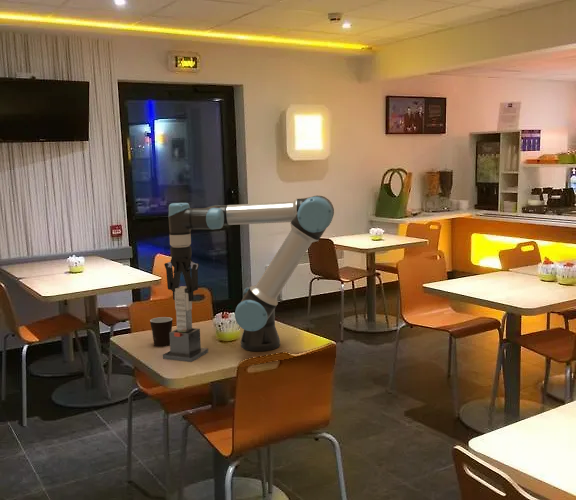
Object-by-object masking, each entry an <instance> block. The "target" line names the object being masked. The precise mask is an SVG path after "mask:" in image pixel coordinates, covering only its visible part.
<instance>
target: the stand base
mask: <svg viewBox="0 0 576 500" xmlns="http://www.w3.org/2000/svg"><path fill="white" fill-rule="evenodd" d="M169 334H170V345H169V347H170V349H169V351H168V352H165V353H163V354H162V359H163V360H171V361H172V360H173V361H180V362H188V363H192V362H195V361H196V360H198V359H199V358H202V357H203V356H204V355H205V356H206V355H207V354H208V353H209V348H205V347H201V329H200V328H195V327H192V331H191V332H189V333H179V332H177V328H176V329H174V330H172V332H169Z"/></svg>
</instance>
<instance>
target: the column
mask: <svg viewBox="0 0 576 500" xmlns="http://www.w3.org/2000/svg"><path fill="white" fill-rule="evenodd" d="M186 293H187V287H186V285H185V286H184V285H183V286H182V285H181V286H180V285H179V287H177V288H175V298H176V310H175V316H176V329H177V332H179V333H189V332H191V331H192V328H193V316H192V313H193V312H192V309H191V310H188V311H187V310H186Z"/></svg>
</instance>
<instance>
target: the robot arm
mask: <svg viewBox="0 0 576 500" xmlns="http://www.w3.org/2000/svg"><path fill="white" fill-rule="evenodd" d="M334 214H335V209H334V206H333V204H332V202H331V200H330V199H329V198H327V197H325V196H322V195H313V196H309V197H303V198H296V199H295V200H294V201H283V202H264V203H263V202H262V203H242V204H223V205H222V204H221V205H219V204H214V205H211V206H209V207H208V206H207V207H203V208H201V207H200V208H198V207H197V208H192V207H190V203H188V202H172V203H170V204H169V205H168V227H169V228H168V229H169V245H170V248H169V249H170V261H169V262H168V261H167V262H165V263H164V264H163V265H164V268H165V271H166V282H167V283H166V284H167V285H166V286H167V289H168V290H170V291H172V299H173V301H174V309H175V311H176V298H175V288H177V287H180V280H181V279H180V278H181V273H182V275H183V277H184V282H185V286H186V287H187V293H186V310H187V311H188V310H191V311H192V310H193V301H194V292H195V291H197V290H198V289H199V267H200V263H195V262H193V259H192V255H193V254H192V246H191V244H192V237H191V234H192V232H191V231H192V230H213V231H214V230H220V229H222V228H223V227H224V226H233V225H235V226H236V225H253V224H255V225H258V224H259V225H260V224H261V225H262V224H276V223H277V224H278V223H279V224H282V223H285V224H286V223H290V227H291V229H290V231H289V233H288V234H287V236H286V238H285V239H284V241H283V243H282V244H281V245H280V247H279V249H277V252H276V253H275V255H274V257H273V258H272V260H271V261H270V263H269V265H268V266H267V268H266V269H265V271H264V273H263V274H262V276H261V277H260V279H259V280H258V282H257V284H256V285H251V286H247V287H245V288H244V289H243V294H242V296H243V297H242V299H241V301H240V302H239V303H238V304H237V306H236V307H235V312H234V319H235V321H236V324H237V325H238V326H239V327H240V328H241V329H242V330H243V332H242V335H241V339H240V348H241V349H243V350H246V351H250V352H266V351H272V350H275V349H278V348H280V346H281V339H280V336H279V334H278V331H277V330H278V329H277V327H276V321H275V320H276V316H275V315H276V314H275V313H276V311H275V310H276V308H277V305H278V304H279V302H278V299H277V298H278V296H279V295H280V293H281V292H282V290H283V289H284V287H285V286H286V285H287V282H288V281H289V279H290V278H291V276H292V274H293V273H294V272H295V270H296V268H297V267H298V265H299V264H300V263H301V261H302V259H303V257H304V256H305V254H306V253H307V251H308V250H309V248H310V247H311V245H312V243H315V242H319V240H320V239H321V238H322V236H323V234H324V233H325V232H326V230H327V228H328V227H329V226H330V225H331V223H332V222H333V218H334Z"/></svg>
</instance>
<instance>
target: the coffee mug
mask: <svg viewBox="0 0 576 500" xmlns="http://www.w3.org/2000/svg"><path fill="white" fill-rule="evenodd" d="M149 323H150V327H151V328H150V329H151V334H152V339H153V345H154V347H157V348H159V347H160V348H163V347H170V334H169V332H172V331H173V330H172V329H173V318H172V317H170V316H169V317H167V316H160V317H159V316H158V317H153V318H151V319H149Z"/></svg>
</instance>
